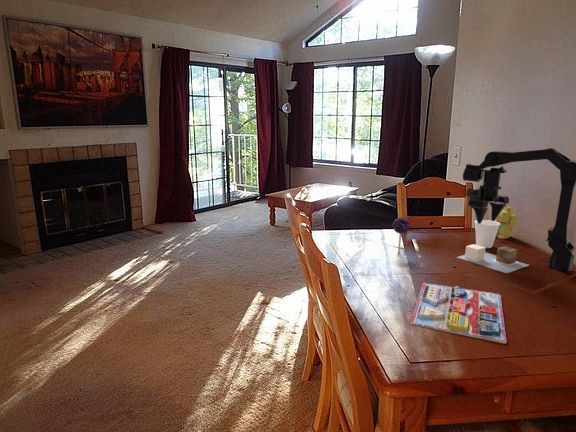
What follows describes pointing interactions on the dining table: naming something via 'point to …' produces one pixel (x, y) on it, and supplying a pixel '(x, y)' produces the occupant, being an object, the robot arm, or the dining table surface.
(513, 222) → the figurine
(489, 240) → the cup
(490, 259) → the mat
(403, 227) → the lollipop
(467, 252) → the cream block
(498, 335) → the puzzle board
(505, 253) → the walnut block
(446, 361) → the dining table surface
